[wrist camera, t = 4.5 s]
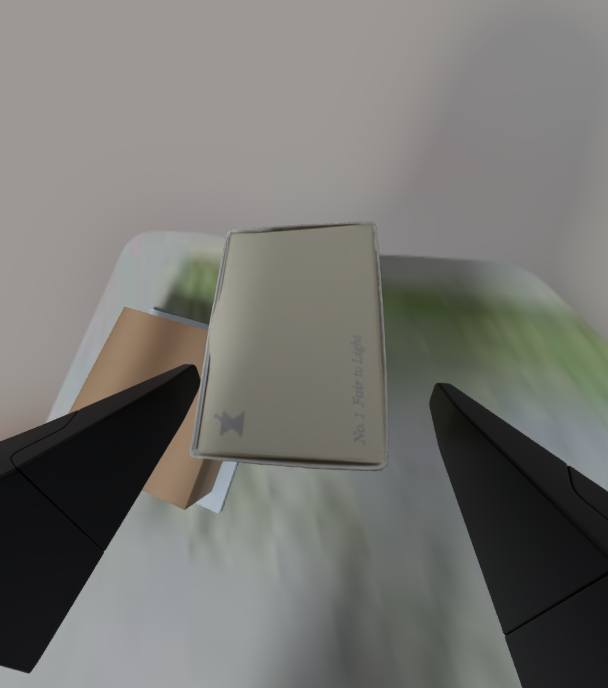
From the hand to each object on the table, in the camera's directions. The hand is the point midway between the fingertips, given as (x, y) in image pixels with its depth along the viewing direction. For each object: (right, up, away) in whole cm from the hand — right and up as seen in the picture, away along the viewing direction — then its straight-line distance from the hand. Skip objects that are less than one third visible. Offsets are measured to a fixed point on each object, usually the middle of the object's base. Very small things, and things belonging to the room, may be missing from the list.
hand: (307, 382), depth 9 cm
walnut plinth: (-10, -3, +9) cm, 13 cm away
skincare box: (+1, -2, +8) cm, 9 cm away
